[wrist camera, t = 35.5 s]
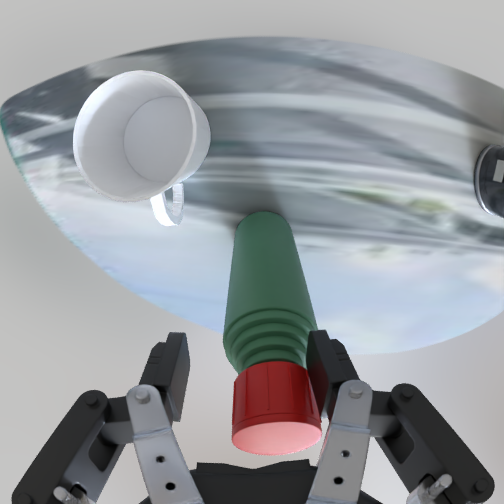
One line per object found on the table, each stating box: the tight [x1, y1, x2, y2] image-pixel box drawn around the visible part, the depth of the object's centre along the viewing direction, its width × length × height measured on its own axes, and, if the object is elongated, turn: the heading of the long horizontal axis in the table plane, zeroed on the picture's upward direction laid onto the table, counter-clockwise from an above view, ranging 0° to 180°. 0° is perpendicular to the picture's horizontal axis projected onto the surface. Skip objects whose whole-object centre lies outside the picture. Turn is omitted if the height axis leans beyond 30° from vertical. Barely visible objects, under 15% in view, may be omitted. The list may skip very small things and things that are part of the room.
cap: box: [232, 361, 322, 455], centre depth 12 cm, size 4×4×3 cm
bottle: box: [223, 211, 318, 374], centre depth 20 cm, size 6×6×20 cm
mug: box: [73, 70, 211, 226], centre depth 21 cm, size 12×9×9 cm
